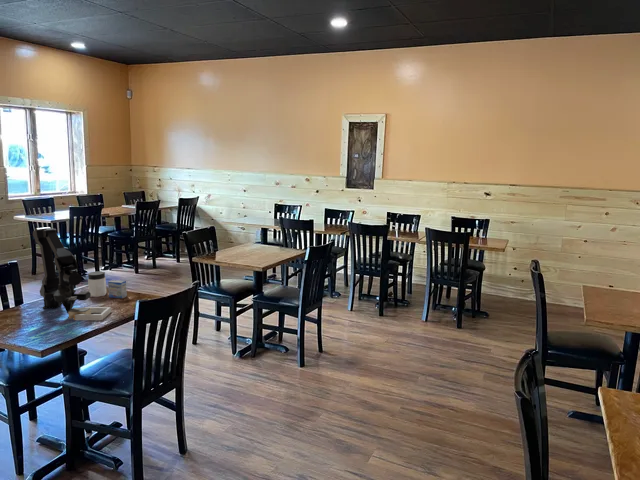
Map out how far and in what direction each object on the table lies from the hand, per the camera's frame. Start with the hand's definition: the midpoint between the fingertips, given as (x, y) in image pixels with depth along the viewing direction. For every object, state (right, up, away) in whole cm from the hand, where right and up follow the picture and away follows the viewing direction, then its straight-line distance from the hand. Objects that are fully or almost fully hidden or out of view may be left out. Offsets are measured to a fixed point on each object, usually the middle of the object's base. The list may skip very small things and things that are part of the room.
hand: (69, 313), depth 218 cm
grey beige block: (+5, -2, 0) cm, 6 cm away
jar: (-3, +5, +34) cm, 34 cm away
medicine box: (+10, +4, +31) cm, 32 cm away
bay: (+11, -1, +1) cm, 11 cm away
